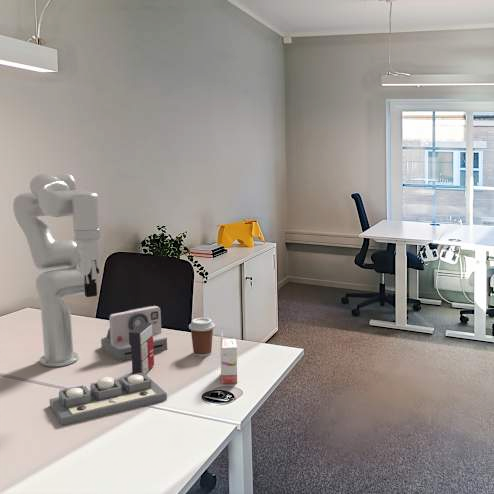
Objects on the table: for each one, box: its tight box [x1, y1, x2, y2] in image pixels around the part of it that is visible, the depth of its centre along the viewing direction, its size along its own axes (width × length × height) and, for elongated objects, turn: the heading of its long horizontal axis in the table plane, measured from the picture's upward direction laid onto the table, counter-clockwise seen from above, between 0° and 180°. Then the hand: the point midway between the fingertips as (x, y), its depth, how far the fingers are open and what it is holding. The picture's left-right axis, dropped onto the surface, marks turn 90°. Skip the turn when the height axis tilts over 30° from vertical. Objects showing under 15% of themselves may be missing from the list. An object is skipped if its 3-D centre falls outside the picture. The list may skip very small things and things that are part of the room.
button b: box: [96, 376, 115, 391], centre depth 172 cm, size 5×5×2 cm
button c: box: [128, 374, 143, 384], centre depth 176 cm, size 5×5×2 cm
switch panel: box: [49, 373, 168, 426], centre depth 170 cm, size 14×30×4 cm, turn 121°
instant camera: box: [100, 305, 168, 361], centre depth 215 cm, size 21×21×15 cm
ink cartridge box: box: [220, 330, 238, 385], centre depth 186 cm, size 9×5×15 cm, turn 5°
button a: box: [66, 387, 83, 398], centre depth 167 cm, size 5×5×2 cm
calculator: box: [129, 323, 155, 375], centre depth 192 cm, size 11×4×15 cm, turn 168°
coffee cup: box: [188, 317, 216, 357], centre depth 209 cm, size 9×9×12 cm
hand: (91, 295), depth 176 cm, fingers closed
